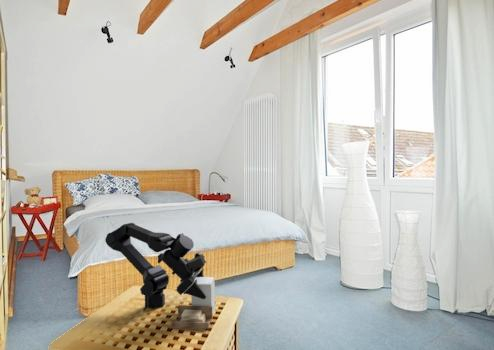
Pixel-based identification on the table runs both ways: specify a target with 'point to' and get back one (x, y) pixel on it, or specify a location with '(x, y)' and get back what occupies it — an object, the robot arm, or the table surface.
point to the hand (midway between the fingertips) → (207, 293)
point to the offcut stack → (193, 316)
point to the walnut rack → (193, 325)
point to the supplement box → (205, 292)
